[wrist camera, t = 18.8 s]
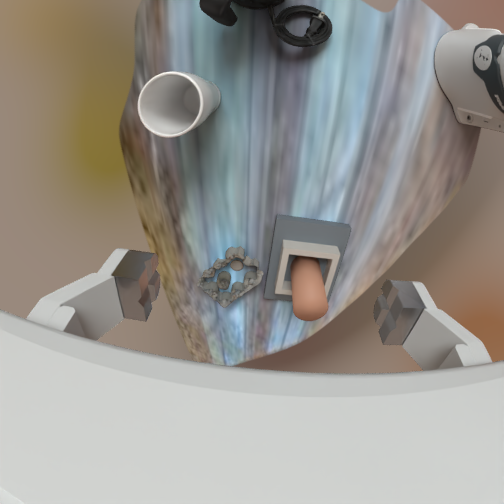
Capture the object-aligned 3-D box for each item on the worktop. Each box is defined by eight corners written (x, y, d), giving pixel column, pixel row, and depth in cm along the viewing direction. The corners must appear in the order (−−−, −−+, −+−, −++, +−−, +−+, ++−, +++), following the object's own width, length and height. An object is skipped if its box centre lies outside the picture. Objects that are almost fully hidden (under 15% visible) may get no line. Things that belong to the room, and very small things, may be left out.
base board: (349, 224, 46) (355, 236, 43) (326, 299, 54) (329, 313, 51) (276, 214, 46) (277, 226, 42) (263, 292, 54) (263, 307, 51)
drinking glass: (202, 129, 39) (170, 152, 27) (170, 99, 37) (123, 109, 24) (236, 97, 37) (219, 103, 24) (203, 65, 34) (169, 57, 21)
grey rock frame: (237, 239, 49) (234, 252, 46) (267, 267, 52) (267, 281, 48) (196, 273, 53) (191, 287, 50) (225, 297, 56) (223, 312, 52)
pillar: (315, 250, 47) (324, 291, 39) (322, 273, 49) (331, 315, 41) (286, 259, 48) (288, 301, 40) (295, 281, 51) (298, 324, 42)
